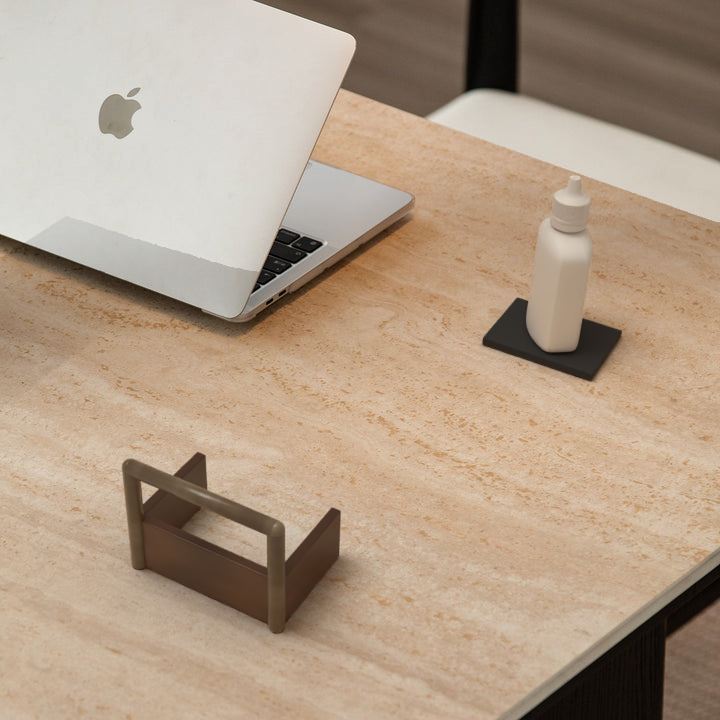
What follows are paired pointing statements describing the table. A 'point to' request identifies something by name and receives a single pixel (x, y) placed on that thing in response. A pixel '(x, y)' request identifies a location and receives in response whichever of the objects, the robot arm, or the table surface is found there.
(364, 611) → the table surface
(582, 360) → the mat
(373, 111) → the table surface
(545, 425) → the table surface
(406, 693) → the table surface
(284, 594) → the caddy
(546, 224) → the eye dropper bottle
